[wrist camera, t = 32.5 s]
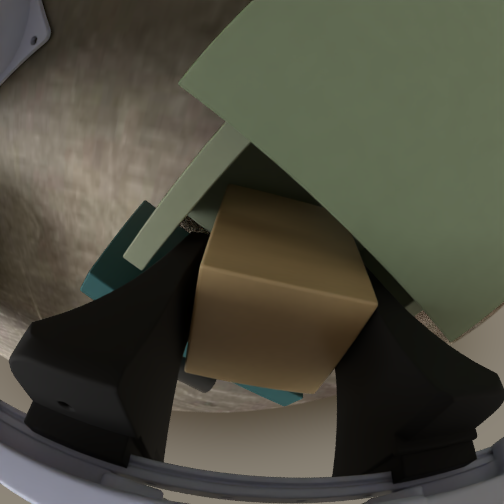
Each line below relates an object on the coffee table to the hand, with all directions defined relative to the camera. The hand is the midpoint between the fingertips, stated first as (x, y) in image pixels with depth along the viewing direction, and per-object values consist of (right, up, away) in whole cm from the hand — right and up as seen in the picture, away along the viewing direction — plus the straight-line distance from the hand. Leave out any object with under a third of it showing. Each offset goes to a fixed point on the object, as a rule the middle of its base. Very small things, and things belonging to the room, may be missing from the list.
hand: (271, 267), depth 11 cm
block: (0, +1, +1) cm, 1 cm away
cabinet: (+7, +9, -1) cm, 11 cm away
